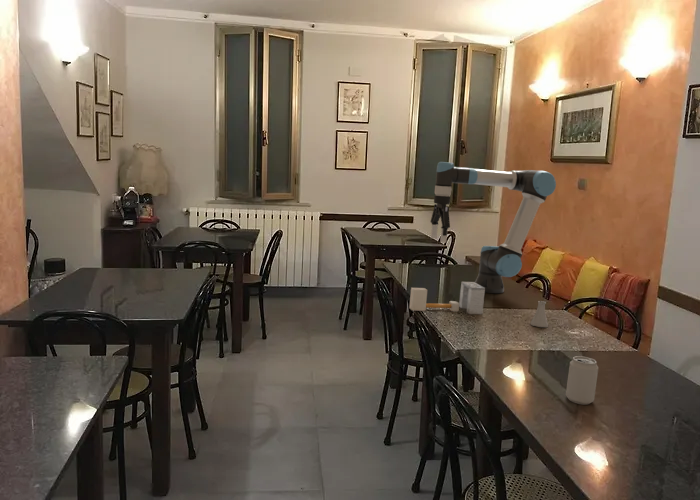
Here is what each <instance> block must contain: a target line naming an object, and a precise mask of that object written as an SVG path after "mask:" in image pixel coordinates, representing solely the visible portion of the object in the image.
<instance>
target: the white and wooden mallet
mask: <svg viewBox="0 0 700 500" xmlns="http://www.w3.org/2000/svg"><path fill="white" fill-rule="evenodd" d="M427 298H428V289H426V288H425V287H410V297H409V308H408V309H410V310H411V311H420V312H421V311H424V312H425V311H426V309H427V308H428V309H429V308H431V309H432V308H434V309H448V310H449V311H451V312H459V310H460V307H459V302H458V301H456V300H455V301H454V300H450V301H449V302H448V303H431V302H430V303H427V300H428V299H427Z"/></svg>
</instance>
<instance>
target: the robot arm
mask: <svg viewBox="0 0 700 500" xmlns="http://www.w3.org/2000/svg"><path fill="white" fill-rule="evenodd" d="M454 164H455V163H454V162H447V161H439V162H438V163H437V166H436V171H435V172H436V173H435V175H436V176H435V185H434V194H435V195H434V197H433V203H434V205H433V211H432V214H431V218H430V223H431V232H430V233H431V234H430V239H437V238H438V230H439V229H438V228H439V227H438V226H439V221H440V220H441V221H440V222H441V227H440V228H441V229H440V231H441V232H440V241H439V243H443V244H444V243H447V240H448V239H447V238H448V231H449V228H450V227H451V225H450V224H451V223H450V207H449V206H447V205H450V204H451V194H452V191H453V189H452V186H453V184H459V185H478V186H479V185H480V186H490V187H501V188H507V189H508V190H512V191H518V192H521V195H522V198H521V199H522V200H521V202H520V205H519V207H518V210H516V211H517V212H516V214H515V216H514V219H513V221H512V224H511V226H510V227H509V231H508V232H507V235H506V237H505V240H504V242H503V243H501V244H499V246H497V245H484V246H483V245H482V247H481V248H480V249H481V251H480V256H479V257H480V258H479V267H478V268H479V269H478V275H477V277H476V279H475V281H474V282H475V283H477V284H479V285H480V286H482V287H484V288H485V294H486V293H487V294H488V293H489V294H503V293H504V291H505V286H504V281H503V277H504V278H512V277H514V276H516V275H517V274H519V273H520V271H521V269H522V266H523V263H522V259H521V258H522V256H523V252H522V248H523V246H524V243H525V241H526V238H527V236H528V234H529V231H530V230H531V226H532V225H533V223H534V222H533V221H534V219H535V217H536V215H537V213H538V210H539V208H540V205H541V204H543V203H545V202H546V200H547V197H548V196H550V195H552V194H553V193H554V192H555V191H556V187H557V182H556V178H555V176H554V175H553V174H552V173H551V172H548V171H545V170H537V169H536V170H534V169H528V170H527V169H525V170H513V169H512V170H510V171H502V170H492V169H491V170H490V169H480V168H473V167H461V166H455V165H454Z"/></svg>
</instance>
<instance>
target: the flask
mask: <svg viewBox="0 0 700 500" xmlns="http://www.w3.org/2000/svg"><path fill="white" fill-rule="evenodd" d="M537 303H538V304H537V308H536V311H535V313H534V315H533V317H532V319H531V320H530V322H529V325H531V326H533V327H538V328H548V327H549V323H548V319H547V315H546V314H547V313H546V304H547V301H542V300H537Z"/></svg>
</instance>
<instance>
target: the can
mask: <svg viewBox="0 0 700 500" xmlns="http://www.w3.org/2000/svg"><path fill="white" fill-rule="evenodd" d="M597 363H598V362H597V361H596V359H594V358H591V357H587V356H581V355H578V356H577V355H576V356H573V357H572V360H571V361H569V368H568V375H567V382H566V383H567V384H566V389H565V396H566V397H567V399H568V401H570V402H572V403H573V404H574V403H575V404H578V405H590V404H591V403H593V402H595V397H596V396H595V395H596V388H597V381H598V380H597V379H598V375H599V374H598V373H599V366H598V364H597Z"/></svg>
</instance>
